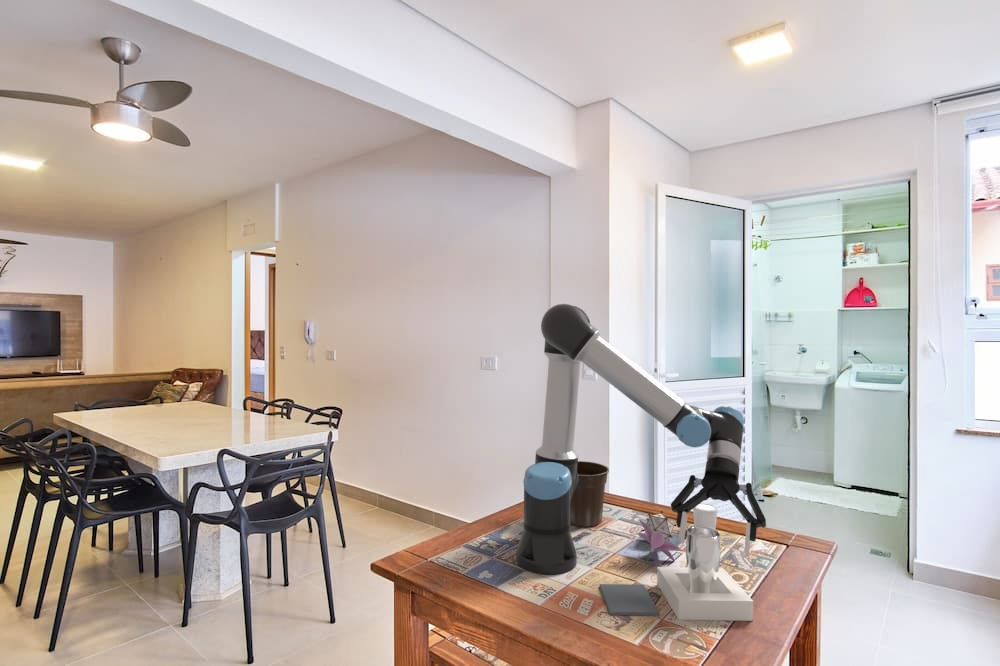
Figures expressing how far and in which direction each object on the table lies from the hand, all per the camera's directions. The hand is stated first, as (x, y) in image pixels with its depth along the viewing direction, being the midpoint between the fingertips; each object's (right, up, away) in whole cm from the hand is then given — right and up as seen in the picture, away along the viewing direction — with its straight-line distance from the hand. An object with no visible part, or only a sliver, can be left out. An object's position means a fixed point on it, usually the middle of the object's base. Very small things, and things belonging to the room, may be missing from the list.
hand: (712, 547), depth 119 cm
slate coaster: (-19, -10, -3) cm, 22 cm away
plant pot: (-22, -10, +45) cm, 52 cm away
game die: (-3, -10, +29) cm, 31 cm away
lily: (-7, -11, +18) cm, 22 cm away
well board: (-3, -11, -3) cm, 11 cm away
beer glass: (-3, -11, -3) cm, 12 cm away
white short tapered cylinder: (+13, -11, +38) cm, 42 cm away
